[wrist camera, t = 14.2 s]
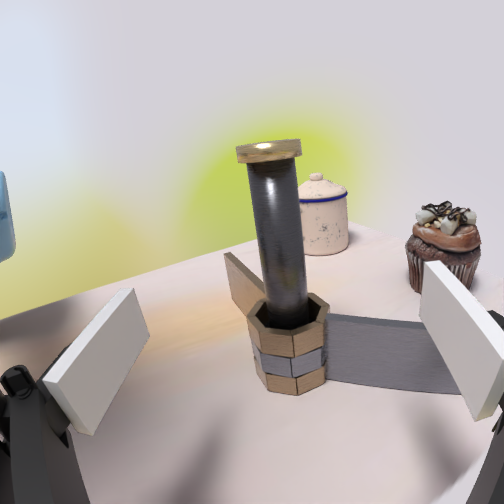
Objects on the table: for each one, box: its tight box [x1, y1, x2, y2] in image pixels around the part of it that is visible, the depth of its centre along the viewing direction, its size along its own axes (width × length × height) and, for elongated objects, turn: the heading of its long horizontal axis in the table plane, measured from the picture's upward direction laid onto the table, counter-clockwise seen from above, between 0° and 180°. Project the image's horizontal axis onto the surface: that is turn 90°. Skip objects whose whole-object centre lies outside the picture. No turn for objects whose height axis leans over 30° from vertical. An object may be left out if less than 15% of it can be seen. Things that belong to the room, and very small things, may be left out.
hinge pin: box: [236, 139, 309, 331], centre depth 22 cm, size 4×4×18 cm
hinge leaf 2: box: [251, 313, 461, 394], centre depth 21 cm, size 18×6×6 cm, turn 62°
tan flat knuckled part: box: [224, 252, 330, 395], centre depth 30 cm, size 18×6×6 cm, turn 22°
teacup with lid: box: [298, 173, 349, 256], centre depth 47 cm, size 12×9×12 cm
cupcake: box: [405, 201, 481, 294], centre depth 32 cm, size 10×10×10 cm
